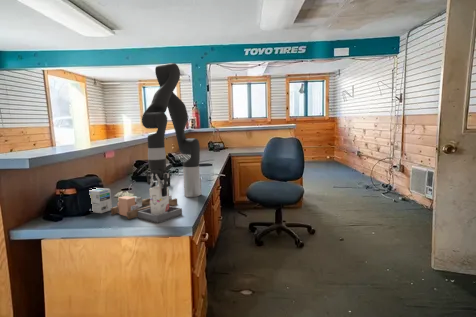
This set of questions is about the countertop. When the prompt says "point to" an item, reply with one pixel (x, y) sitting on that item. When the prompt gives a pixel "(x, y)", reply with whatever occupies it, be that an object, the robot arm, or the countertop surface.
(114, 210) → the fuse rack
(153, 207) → the ink cartridge box
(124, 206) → the terracotta block
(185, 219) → the countertop surface
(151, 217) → the tray
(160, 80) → the robot arm
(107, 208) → the light bulb box
